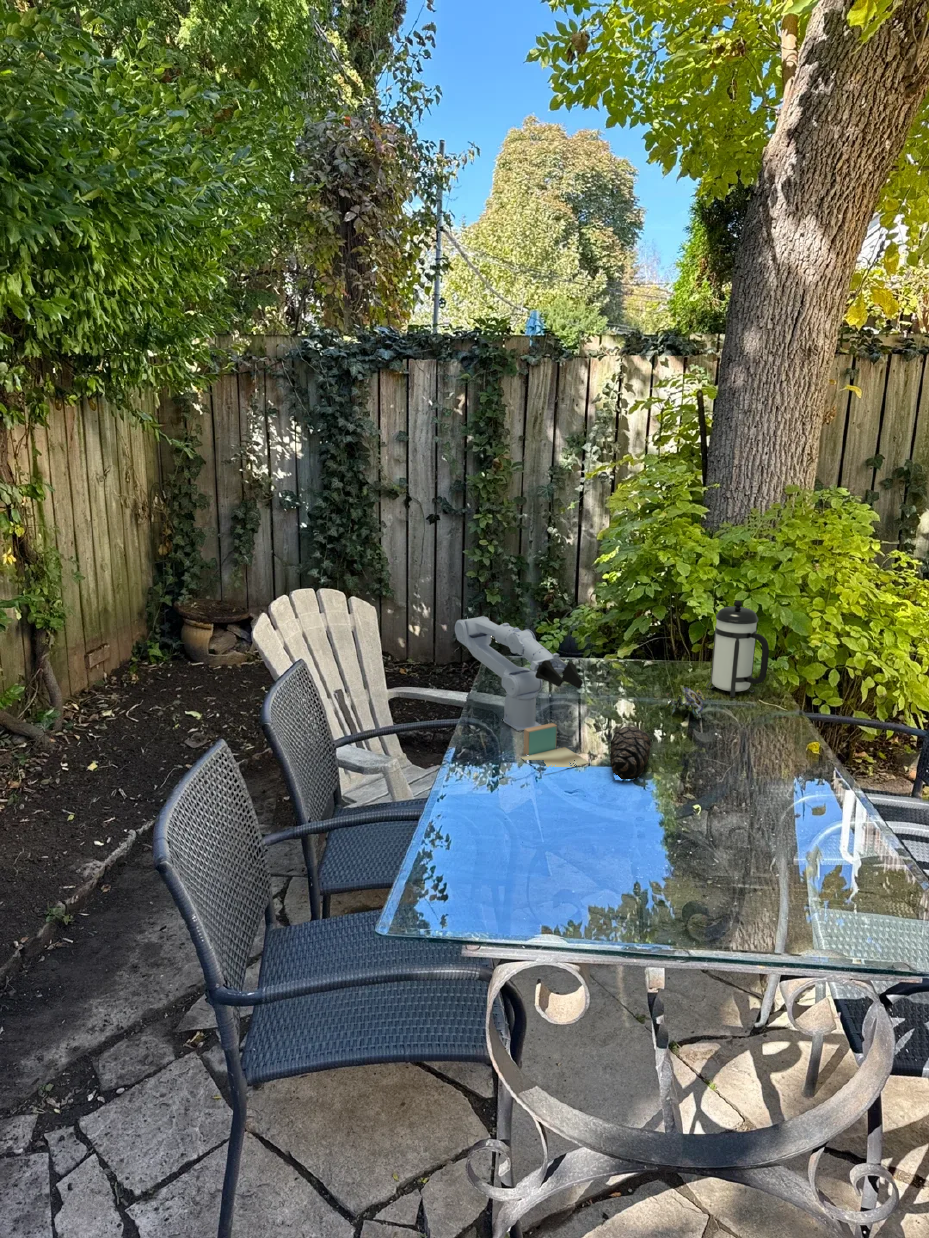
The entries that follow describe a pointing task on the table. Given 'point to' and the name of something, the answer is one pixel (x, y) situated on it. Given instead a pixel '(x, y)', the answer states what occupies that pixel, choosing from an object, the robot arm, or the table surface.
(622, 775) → the pine cone
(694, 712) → the passion flower
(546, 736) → the block
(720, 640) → the coffee press
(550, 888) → the table surface
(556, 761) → the board
